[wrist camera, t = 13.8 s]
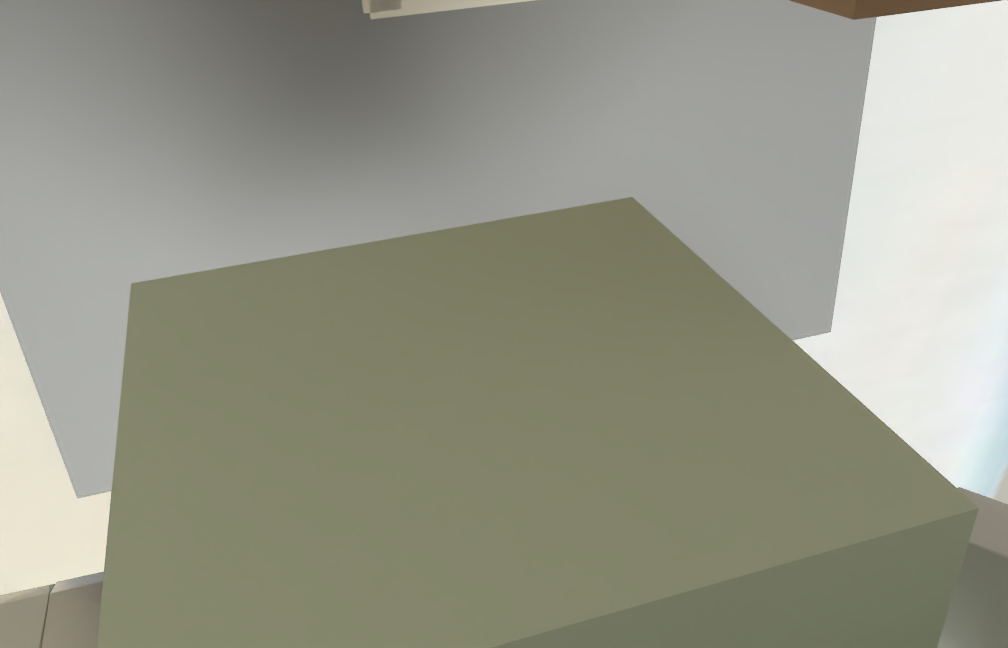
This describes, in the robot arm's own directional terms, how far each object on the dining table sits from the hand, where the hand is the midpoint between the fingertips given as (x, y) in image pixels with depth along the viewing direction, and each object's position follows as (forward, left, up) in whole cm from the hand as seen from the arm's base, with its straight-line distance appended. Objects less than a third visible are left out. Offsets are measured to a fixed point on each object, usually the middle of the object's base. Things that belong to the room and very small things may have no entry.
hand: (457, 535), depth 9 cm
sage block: (0, 0, -2) cm, 2 cm away
